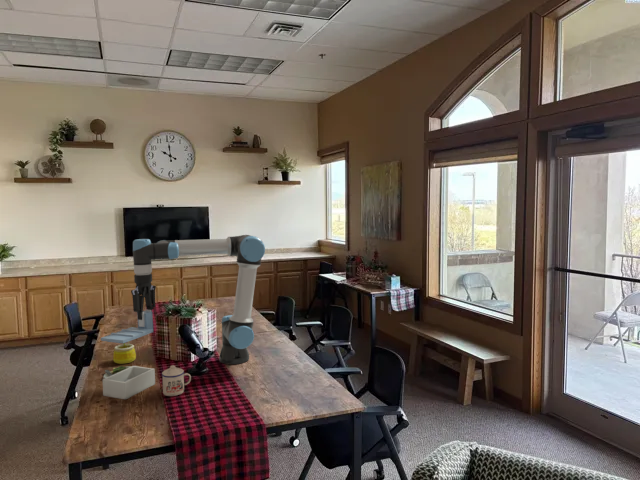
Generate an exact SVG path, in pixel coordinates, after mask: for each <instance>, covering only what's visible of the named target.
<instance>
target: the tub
mask: <svg viewBox="0 0 640 480" xmlns="http://www.w3.org/2000/svg"><path fill="white" fill-rule="evenodd" d="M155 370H156V369H155V368H153V367H152V368H151V367H144V366H138V365H132V366H131V367H129V368H127V369H125V370H123V371H120V372H118V373H116V374H114V375H111V376H109V377H107V378H102V395H103V397H108V398H109V397H110V398H115V399H121V400H127V399H129V398H131V397H133V396H135V395H137V394H139V393H141V392H143V391H145V390H147V389H148V388H149V389H150V387H152V386H154V385H156V376H155V375H156V371H155Z"/></svg>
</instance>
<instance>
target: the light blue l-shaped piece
mask: <svg viewBox="0 0 640 480" xmlns="http://www.w3.org/2000/svg"><path fill="white" fill-rule="evenodd" d="M143 312H144V321H145V327H140V326H139V320H138V313H137V312H136V314H137V327H134V326H132V327H128V328H121V330H119V331H117V332H110V334H108V335H106V336H105V335H104V336H101V337H100V342H101V341H102V342H107V343H116V344H123V343H125V344H127V343H128V342H129V343H130V342H132V341H134V340H136V339H139V338H142V337H144V336H147V335H150V334H152V333H154V322H153V321H154V319H153V311H152V312H150V311H145V310H143Z"/></svg>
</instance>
